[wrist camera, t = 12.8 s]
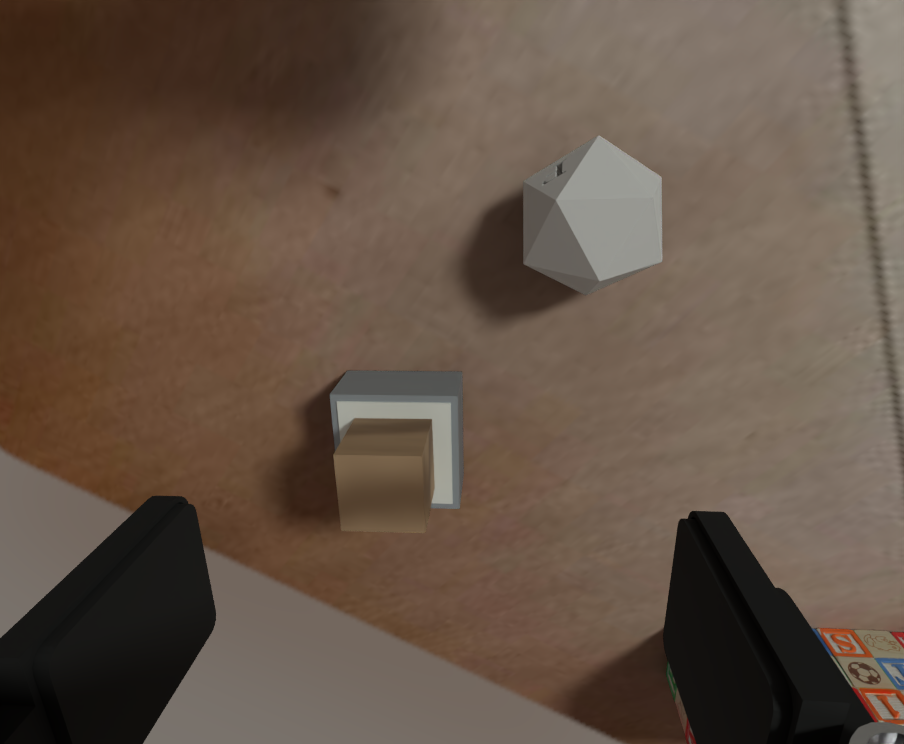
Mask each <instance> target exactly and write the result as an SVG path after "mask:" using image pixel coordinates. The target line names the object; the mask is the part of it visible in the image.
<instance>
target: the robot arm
mask: <svg viewBox="0 0 904 744" xmlns="http://www.w3.org/2000/svg"><path fill="white" fill-rule="evenodd" d="M215 621H216V610H215V605H214V600H213V595H212V590H211V584H210V579H209V575H208V569H207V564H206V559H205V554H204V549H203V544H202V538H201V533H200V528H199V523H198V518H197V513H196V509H195V507H194V506H193V505H192V504H188V501H187V500H186V499H185V498H184V497H182V496H152V497H151V498H149V499H148V500H147V501H146V502H145V503H144V504H143V505H141V506H140V507H139V508H138V509H137V510H136V511H135V512H134V513H133V514H132V515H131V516H130V517H129V518H128V519H127V520H126V521H124V522H123V523H122V524H121V525H120V526H119V527H118V528H117V529H116V530H115V531H114V532H113V533H112V534H111V535H110V536H109V537H107V538H106V539H105V540H104V541H103V542H102V543H101V544H100V545H99V546H98V547H97V548H96V549H95V550H94V551H93V552H92V553H90V555H88V556H87V557H86V558H85V559H84V560H83V561H82V562H81V563H80V564H79V565H78V566H77V567H76V568H75V569H73V570H72V571H71V572H70V573H69V574H68V575H67V576H66V577H65V578H64V579H63V580H62V581H61V582H60V583H59V584H58V585H57V586H55V588H53V589H52V590H51V591H50V592H49V593H48V594H47V595H46V596H45V597H44V598H43V599H42V600H41V601H39V602H38V603H37V604H36V605H35V606H34V607H33V608H32V609H31V610H30V611H29V612H28V613H27V614H26V615H25V616H24V617H23V618H22V619H20V620H19V621H18V622H17V623H16V624H15V625H14V626H13V627H12V628H11V629H10V630H9V631H8V632H7V633H6V634H4V635H3V636H2V637H1V638H0V744H143V742H144V740H145V739H146V738H147V736H148V734H149V733H150V731H151V729H152V728H153V726H154V725H155V723H156V721H157V720H158V718H159V716H160V715H161V713H162V712H163V710H164V709H165V707H166V705H167V704H168V702H169V700H170V699H171V697H172V695H173V694H174V692H175V691H176V689H177V688H178V686H179V684H180V683H181V681H182V679H183V678H184V676H185V675H186V673H187V671H188V670H189V668H190V667H191V665H192V663H193V662H194V660H195V659H196V657H197V655H198V654H199V652H200V650H201V649H202V647H203V646H204V644H205V642H206V641H207V639H208V638H209V636H210V634H211V633H212V631H213V628H214V625H215ZM663 641H664V648H665V653H666V656H667V659H668V662H669V665H670V668H671V671H672V674H673V677H674V680H675V683H676V686H677V689H678V692H679V695H680V697H681V700H682V703H683V706H684V709H685V712H686V715H687V718H688V721H689V724H690V727H691V730H692V733H693V736H694V739H695V741H696V744H904V726H903V725H898V724H894V723H889V722H875V721H874V720H873V718H872V717H871V715H870V714H869V712H868V711H867V709H866V708H865V706H864V705H863V704H862V702H861V701H860V699H859V698H858V696H857V695H856V693H855V692H854V690H853V689H852V687H851V686H850V684H849V683H848V681H847V680H846V678H845V677H844V675H843V674H842V673H841V671H840V670H839V668H838V667H837V665H836V664H835V662H834V661H833V659H832V658H831V656H830V655H829V653H828V652H827V650H826V649H825V647H824V646H823V644H822V643H821V641H820V640H819V639H818V637H817V636H816V634H815V633H814V631H813V630H812V628H811V627H810V625H809V624H808V622H807V621H806V619H805V618H804V616H803V615H802V613H801V612H800V610H799V609H798V607H797V606H796V605H795V603H794V602H793V600H792V599H791V597H790V596H789V595H788V594H787V593H786V592H785V591H784V590H782V589H780V588H775V587H774V585H773V584H772V582H771V581H770V579H769V578H768V576H767V575H766V573H765V572H764V570H763V569H762V567H761V566H760V564H759V563H758V561H757V559H756V558H755V556H754V555H753V553H752V552H751V550H750V549H749V547H748V546H747V544H746V543H745V541H744V540H743V538H742V537H741V535H740V534H739V532H738V530H737V529H736V527H735V526H734V524H733V523H732V521H731V520H730V518H729V517H728V515H727V514H726V513H724V512H708V511H692V512H690V514H689V516H688V519H680V521H679V523H678V529H677V536H676V543H675V551H674V558H673V566H672V573H671V580H670V588H669V595H668V603H667V610H666V617H665V625H664V633H663Z"/></svg>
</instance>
